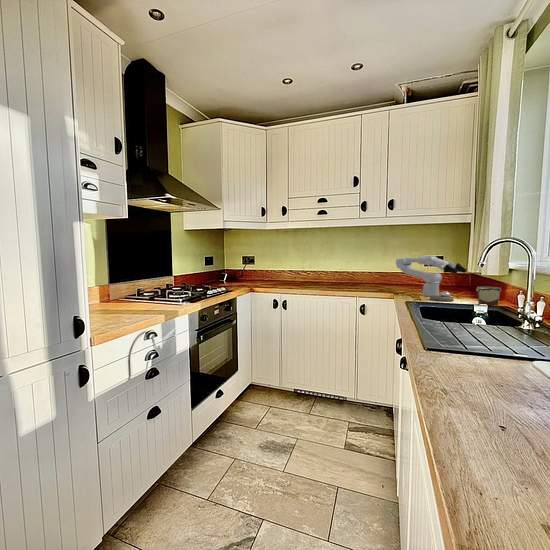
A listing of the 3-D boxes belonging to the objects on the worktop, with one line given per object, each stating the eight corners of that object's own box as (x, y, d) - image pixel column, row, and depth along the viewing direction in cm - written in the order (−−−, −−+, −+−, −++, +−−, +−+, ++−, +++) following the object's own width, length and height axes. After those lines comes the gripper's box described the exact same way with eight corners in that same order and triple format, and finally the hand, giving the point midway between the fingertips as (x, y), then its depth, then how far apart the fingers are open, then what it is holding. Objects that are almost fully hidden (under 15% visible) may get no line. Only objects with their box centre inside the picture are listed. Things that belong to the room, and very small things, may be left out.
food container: (493, 303, 171) (494, 286, 171) (500, 305, 165) (501, 287, 165) (471, 303, 173) (471, 286, 172) (477, 305, 167) (477, 287, 166)
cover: (438, 296, 190) (438, 291, 190) (444, 295, 192) (445, 290, 192) (445, 297, 185) (445, 292, 185) (452, 296, 187) (452, 291, 187)
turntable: (424, 298, 192) (425, 296, 192) (440, 297, 196) (440, 294, 196) (442, 301, 179) (442, 298, 179) (458, 300, 184) (458, 297, 184)
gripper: (435, 259, 192) (454, 266, 180) (452, 258, 197) (471, 264, 186) (433, 269, 195) (451, 277, 183) (449, 268, 200) (468, 275, 188)
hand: (461, 271), depth 184 cm, fingers open, 7 cm apart
